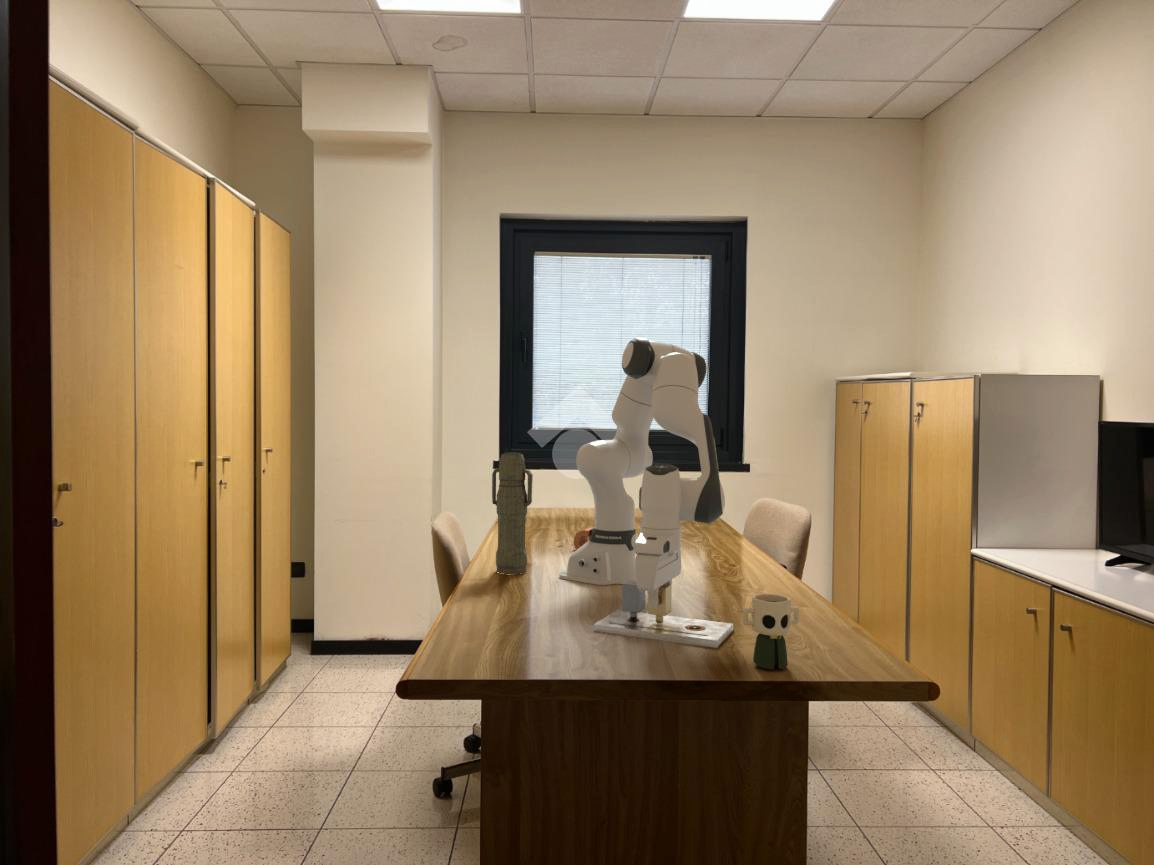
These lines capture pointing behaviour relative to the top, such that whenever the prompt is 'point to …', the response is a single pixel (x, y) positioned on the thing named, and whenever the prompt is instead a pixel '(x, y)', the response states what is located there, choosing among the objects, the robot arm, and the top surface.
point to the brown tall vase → (511, 512)
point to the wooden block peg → (662, 603)
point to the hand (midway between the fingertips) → (659, 603)
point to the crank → (581, 538)
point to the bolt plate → (670, 630)
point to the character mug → (771, 628)
